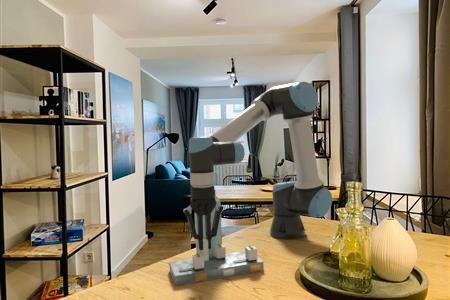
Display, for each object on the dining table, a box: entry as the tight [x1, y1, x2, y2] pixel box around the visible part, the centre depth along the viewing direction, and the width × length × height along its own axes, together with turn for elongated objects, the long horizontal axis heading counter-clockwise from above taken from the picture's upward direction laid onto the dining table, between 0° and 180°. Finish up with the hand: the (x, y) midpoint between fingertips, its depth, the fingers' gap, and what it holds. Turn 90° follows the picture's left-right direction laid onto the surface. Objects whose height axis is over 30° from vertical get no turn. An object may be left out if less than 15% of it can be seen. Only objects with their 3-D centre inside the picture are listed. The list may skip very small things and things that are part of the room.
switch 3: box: [244, 245, 258, 261], centre depth 112 cm, size 3×3×4 cm
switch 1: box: [191, 253, 204, 269], centre depth 107 cm, size 3×3×4 cm
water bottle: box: [194, 194, 223, 256], centre depth 124 cm, size 10×10×25 cm
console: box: [168, 250, 265, 287], centre depth 112 cm, size 29×12×3 cm, turn 107°
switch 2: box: [215, 243, 227, 258], centre depth 115 cm, size 3×3×4 cm
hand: (205, 259), depth 107 cm, fingers closed
